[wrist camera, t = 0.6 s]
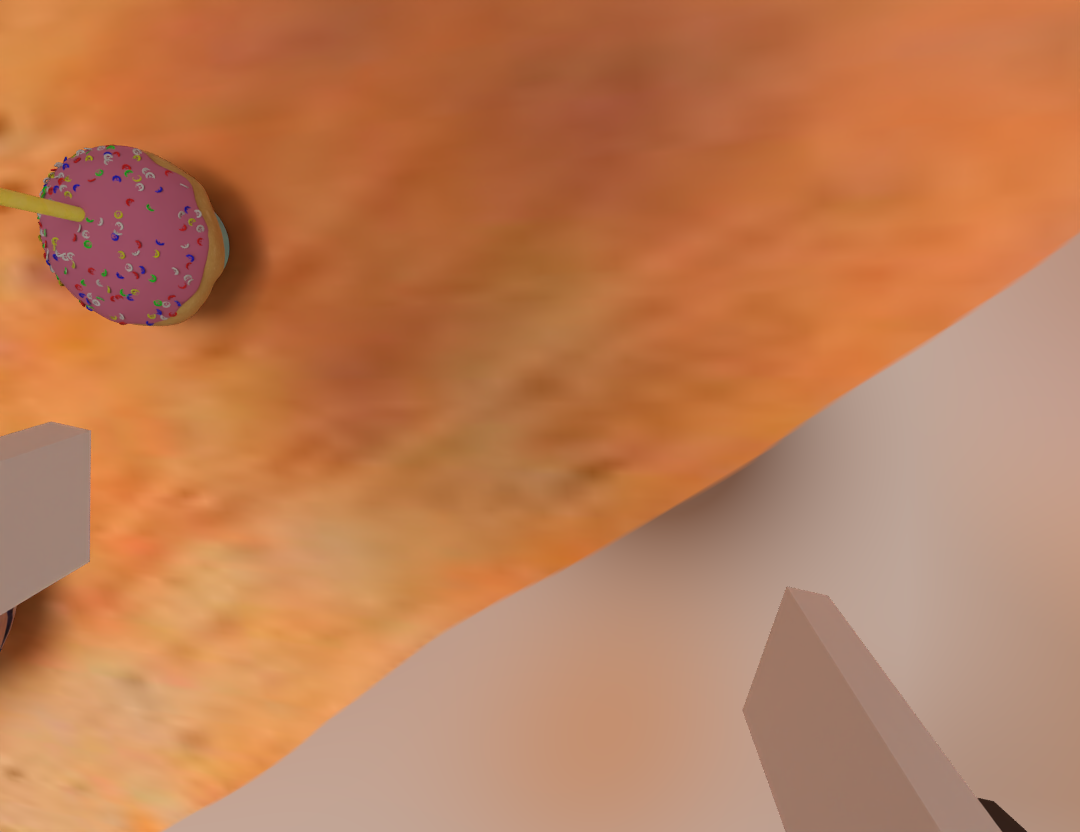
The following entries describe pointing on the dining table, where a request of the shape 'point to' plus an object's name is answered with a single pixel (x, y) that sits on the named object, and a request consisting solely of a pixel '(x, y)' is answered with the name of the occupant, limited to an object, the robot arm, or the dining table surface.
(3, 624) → the ceramic pitcher
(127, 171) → the cupcake
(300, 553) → the dining table surface
